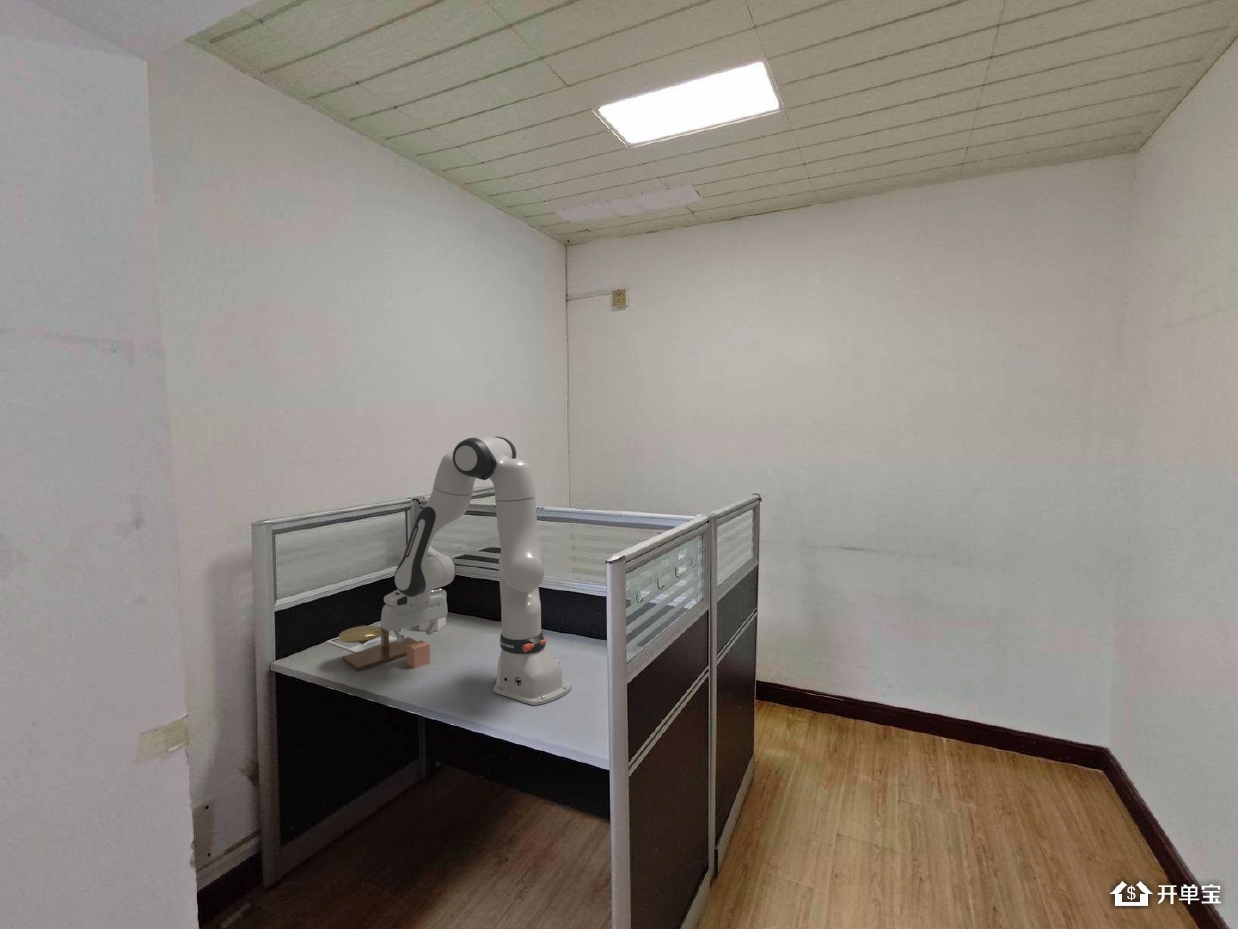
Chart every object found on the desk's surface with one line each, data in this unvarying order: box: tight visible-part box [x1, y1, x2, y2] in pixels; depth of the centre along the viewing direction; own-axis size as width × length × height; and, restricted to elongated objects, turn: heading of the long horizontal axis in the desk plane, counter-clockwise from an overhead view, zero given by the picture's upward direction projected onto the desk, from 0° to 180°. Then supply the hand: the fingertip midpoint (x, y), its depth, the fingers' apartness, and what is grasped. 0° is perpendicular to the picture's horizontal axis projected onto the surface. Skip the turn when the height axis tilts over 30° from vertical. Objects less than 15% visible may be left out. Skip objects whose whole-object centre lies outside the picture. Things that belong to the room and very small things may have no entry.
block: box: [406, 640, 431, 669], centre depth 168 cm, size 5×5×6 cm
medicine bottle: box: [418, 616, 447, 632], centre depth 200 cm, size 7×7×12 cm
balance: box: [338, 625, 418, 672], centre depth 175 cm, size 12×27×15 cm, turn 137°
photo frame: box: [326, 635, 397, 653], centre depth 187 cm, size 15×1×18 cm
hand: (415, 638), depth 168 cm, fingers open, 8 cm apart
